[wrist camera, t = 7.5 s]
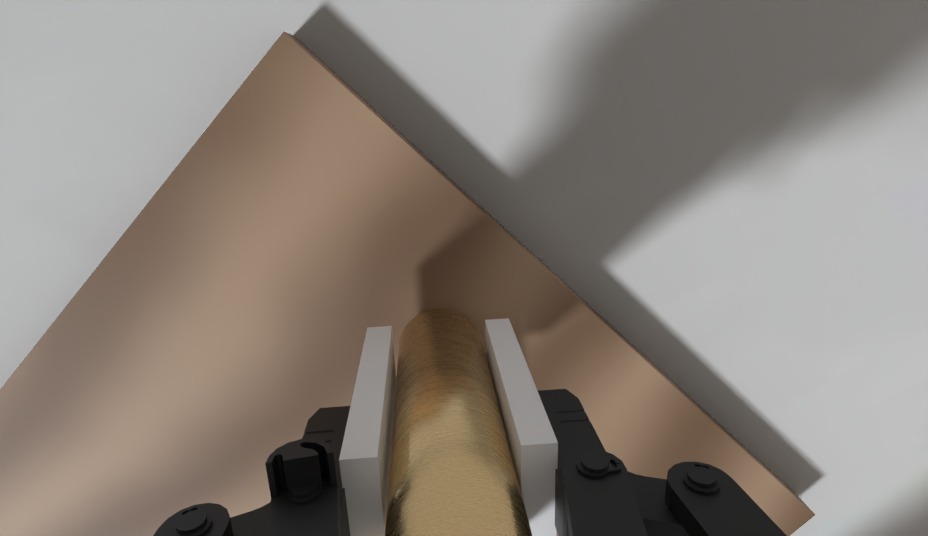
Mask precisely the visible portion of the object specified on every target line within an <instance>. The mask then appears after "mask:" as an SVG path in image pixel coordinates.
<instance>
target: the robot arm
mask: <svg viewBox="0 0 928 536" xmlns="http://www.w3.org/2000/svg"><path fill="white" fill-rule="evenodd" d="M485 342H486V358H487V361H488V365H489V369H490V373H491V377H492V381H493V385H494V389H495V393H496V396H497V400H498V404H499V408H500V412H501V416H502V420H503V424H504V428H505V431H506V435H507V439H508V443H509V447H510V451H511V455H512V459H513V463H514V466H515V470H516V474H517V478H518V482H519V486H520V490H521V494H522V498H523V501H524V505H525V509H526V513H527V517H528V521H529V525H530V529H531V533H532V536H556V531H557V534H558V536H787V535H786V534H785V533H784V532H783V531H782V530H781V529H780V528H779V527H778V526H777V525H776V524H775V523H774V522H773V521H772V520H771V518H770V517H769V516H768V515H767V514H766V513H765V512H764V511H763V510H762V509H761V508H760V507H759V506H758V505H757V504H756V503H755V502H754V501H753V500H752V499H751V497H750V496H749V495H748V494H747V493H746V492H745V491H744V490H743V489H742V488H741V487H740V486H739V485H738V484H737V483H736V482H735V481H734V480H733V479H732V478H731V477H730V476H729V475H728V474H726V473H725V472H724V471H722V470H721V469H719V468H716V467H714V466H712V465H710V464H705V463H701V462H681V463H678V464H675V465H673V466H672V467H671V468H670V469H669V470H668V473H667V479H661V478H654V477H646V476H642V475H637V474H634V473H631V472H628V471H627V468H626V467H625V465H624V463H623V462H622V460H620V459H619V458H617V457H616V456H615V455H613V454H611V453H608V452H606V451H605V449H604V447H603V445H602V443H601V441H600V439H599V437H598V435H597V433H596V431H595V429H594V427H593V425H592V424H591V422H590V421H589V418H588V416H587V414H586V412H584V408H583V406H582V404H581V402H580V400H579V398H577V397H576V396H575V395H573V394H572V393H571V392H569V391H568V390H567V389H554V390H540V391H537V388H536V386H535V383H534V381H533V378H532V376H531V373H530V371H529V368H528V366H527V363H526V361H525V358H524V356H523V353H522V350H521V348H520V345H519V343H518V340H517V338H516V335H515V333H514V330H513V328H512V325H511V323H510V320H509V318H505V319H489V320H485ZM395 391H396V370H395V358H394V345H393V333H392V326H382V327H367V331H366V336H365V341H364V345H363V350H362V355H361V359H360V364H359V369H358V373H357V378H356V383H355V387H354V392H353V397H352V401H351V406H341V407H327V408H320V409H319V410H318V411H317V412H316V413H315V414H314V415H313V416H312V417H311V418H310V419H309V420H308V422H307V425H306V428H305V431H304V435H303V437H302V439H300V440H296V441H292V442H288V443H286V444H285V445H283V446H281V447H279V448H277V449H276V450H275V451H274V452H273V453H271V454H270V455H269V457H268V459H267V461H266V463H265V465H266V471H267V477H268V483H269V489H270V495H271V502H270V503H268V504H266V505H264V506H262V507H260V508H258V509H255V510H253V511H250V512H247V513H243V514H240V515H237V516H234V517H230V516H229V513H228V510H227V509H226V508H225V507H223V506H222V505H220V504H214V503H203V504H196V505H193V506H190V507H188V508H185V509H182V510H180V511H178V512H177V513H175V514H174V515H172V516H171V517H169V518H168V519H167V520H166V521H165V522H164V523H163V524H162V525H161V526H160V527H159V528H158V529H157V531H156V532H155V534H154V535H153V536H385V527H386V514H387V500H388V486H389V473H390V459H391V445H392V432H393V418H394V404H395Z"/></svg>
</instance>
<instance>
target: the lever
mask: <svg viewBox="0 0 928 536" xmlns="http://www.w3.org/2000/svg"><path fill="white" fill-rule="evenodd" d="M385 536H532V533H531V529H530V525H529V521H528V517H527V513H526V509H525V505H524V501H523V498H522V494H521V490H520V486H519V482H518V478H517V474H516V470H515V466H514V463H513V459H512V455H511V451H510V447H509V443H508V439H507V435H506V431H505V428H504V424H503V420H502V416H501V412H500V408H499V404H498V400H497V396H496V393H495V389H494V385H493V381H492V377H491V373H490V369H489V365H488V361H487V358H486V354H485V350H484V346H483V342H482V338H481V334H480V332H479V330H478V328H477V326H476V325H475V323H474V322H473V321H472V320H471V319H470V318H469V317H467V316H466V315H464V314H463V313H461V312H458V311H456V310H452V309H447V308H436V309H431V310H427V311H424V312H422V313H420V314H418V315H417V316H415V317H414V318H413V319H412V320H411V321H409V323H408V324H407V325H406V326H405V328H404V329H403V332H402V334H401V337H400V340H399V350H398V363H397V377H396V391H395V404H394V418H393V432H392V445H391V459H390V473H389V486H388V500H387V514H386V527H385Z"/></svg>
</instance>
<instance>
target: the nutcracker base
mask: <svg viewBox="0 0 928 536" xmlns="http://www.w3.org/2000/svg"><path fill="white" fill-rule="evenodd" d="M436 308H447V309H452V310H456V311H458V312H461V313H463V314H464V315H466V316H467V317H469V318H470V319H471V320H472V321H473V322H474V323H475V325H476V326H477V328H478V330H479V332H480V334H481V338H482V342H483V346H484V350H485V354H486V342H485V320H489V319H505V318H509V320H510V323H511V325H512V328H513V330H514V333H515V335H516V338H517V340H518V343H519V345H520V348H521V350H522V353H523V356H524V358H525V361H526V363H527V366H528V368H529V371H530V373H531V376H532V378H533V381H534V383H535V386H536V388H537V391H540V390H554V389H567V390H568V391H569V392H571V393H572V394H573V395H575V396H576V397H577V398H579V400H580V402H581V404H582V406H583V408H584V412H586V414H587V416H588V418H589V421H590V422H591V424H592V425H593V427H594V429H595V431H596V433H597V435H598V437H599V439H600V441H601V443H602V445H603V447H604V449H605V451H606V452H608V453H611V454H613V455H615V456H616V457H617V458H619V459H620V460H622V462H623V463H624V465H625V467H626V468H627V471H628V472H631V473H634V474H637V475H642V476H646V477H654V478H661V479H667V473H668V470H669V469H670V468H671V467H672V466H673V465H675V464H678V463H681V462H701V463H705V464H710V465H712V466H714V467H716V468H719V469H721V470H722V471H724V472H725V473H726V474H728V475H729V476H730V477H731V478H732V479H733V480H734V481H735V482H736V483H737V484H738V485H739V486H740V487H741V488H742V489H743V490H744V491H745V492H746V493H747V494H748V495H749V496H750V497H751V499H752V500H753V501H754V502H755V503H756V504H757V505H758V506H759V507H760V508H761V509H762V510H763V511H764V512H765V513H766V514H767V515H768V516H769V517H770V518H771V520H772V521H773V522H774V523H775V524H776V525H777V526H778V527H779V528H780V529H781V530H782V531H783V532H784V533H785V534H786V535H787V536H790V535H791V534H792V533H793V532H795V531H796V530H797V529H798V528H800V527H801V526H802V525H803V524H805V523H806V522H807V521H808V520H809V519H811V518H812V517H813V516H814V515H815V514H814V513H813V512H812V511H811V510H810V509H809V508H808V507H807V505H806V504H805V503H804V502H803V501H802V500H801V499H800V498H799V497H798V496H797V495H796V494H795V493H794V492H793V491H792V490H791V489H790V488H789V487H787V486H786V485H785V484H784V483H783V482H782V481H781V480H780V479H779V478H778V477H776V476H775V475H774V474H773V473H772V472H771V471H770V470H769V469H768V468H767V467H766V466H764V465H763V464H762V463H761V462H760V461H759V460H758V459H757V458H756V457H755V456H753V455H752V454H751V453H750V452H749V451H748V450H747V449H746V448H745V447H744V446H742V445H741V444H740V443H739V442H738V441H737V440H736V439H735V438H734V437H733V436H732V435H730V434H729V433H728V432H727V431H726V430H725V429H724V428H723V427H722V426H721V425H719V424H718V423H717V422H716V421H715V420H714V419H713V418H712V417H711V416H710V415H708V414H707V413H706V412H705V411H704V410H703V409H702V408H701V407H700V406H699V405H698V404H696V403H695V402H694V401H693V400H692V399H691V398H690V397H689V396H688V395H687V394H685V393H684V392H683V391H682V390H681V389H680V388H679V387H678V386H677V385H676V384H674V383H673V382H672V381H671V380H670V379H669V378H668V377H667V376H666V375H665V374H663V373H662V372H661V371H660V370H659V369H658V368H657V367H656V366H655V365H654V364H653V363H651V362H650V361H649V360H648V359H647V358H646V357H645V356H644V355H643V354H642V353H640V352H639V351H638V350H637V349H636V348H635V347H634V346H633V345H632V344H631V343H629V342H628V341H627V340H626V339H625V338H624V337H623V336H622V335H621V334H620V333H619V332H617V331H616V330H615V329H614V328H613V327H612V326H611V325H610V324H609V323H608V322H606V321H605V320H604V319H603V318H602V317H601V316H600V315H599V314H598V313H597V312H595V311H594V310H593V309H592V308H591V307H590V306H589V305H588V304H587V303H586V302H585V301H583V300H582V299H581V298H580V297H579V296H578V295H577V294H576V293H575V292H574V291H572V290H571V289H570V288H569V287H568V286H567V285H566V284H565V283H564V282H563V281H561V280H560V279H559V278H558V277H557V276H556V275H555V274H554V273H553V272H552V271H551V270H549V269H548V268H547V267H546V266H545V265H544V264H543V263H542V262H541V261H540V260H538V259H537V258H536V257H535V256H534V255H533V254H532V253H531V252H530V251H529V250H527V249H526V248H525V247H524V246H523V245H522V244H521V243H520V242H519V241H518V240H517V239H515V238H514V237H513V236H512V235H511V234H510V233H509V232H508V231H507V230H506V229H504V228H503V227H502V226H501V225H500V224H499V223H498V222H497V221H496V220H495V219H493V218H492V217H491V216H490V215H489V214H488V213H487V212H486V211H485V210H484V209H483V208H481V207H480V206H479V205H478V204H477V203H476V202H475V201H474V200H473V199H472V198H470V197H469V196H468V195H467V194H466V193H465V192H464V191H463V190H462V189H461V188H459V187H458V186H457V185H456V184H455V183H454V182H453V181H452V180H451V179H450V178H449V177H447V176H446V175H445V174H444V173H443V172H442V171H441V170H440V169H439V168H438V167H436V166H435V165H434V164H433V163H432V162H431V161H430V160H429V159H428V158H427V157H425V156H424V155H423V154H422V153H421V152H420V151H419V150H418V149H417V148H416V147H415V146H413V145H412V144H411V143H410V142H409V141H408V140H407V139H406V138H405V137H404V136H402V135H401V134H400V133H399V132H398V131H397V130H396V129H395V128H394V127H393V126H391V125H390V124H389V123H388V122H387V121H386V120H385V119H384V118H383V117H382V116H381V115H379V114H378V113H377V112H376V111H375V110H374V109H373V108H372V107H371V106H370V105H368V104H367V103H366V102H365V101H364V100H363V99H362V98H361V97H360V96H359V95H357V94H356V93H355V92H354V91H353V90H352V89H351V88H350V87H349V86H348V85H347V84H345V83H344V82H343V81H342V80H341V79H340V78H339V77H338V76H337V75H336V74H334V73H333V72H332V71H331V70H330V69H329V68H328V67H327V66H326V65H325V64H323V63H322V62H321V61H320V60H319V59H318V58H317V57H316V56H315V55H314V54H313V53H311V52H310V51H309V50H308V49H307V48H306V47H305V46H304V45H303V44H302V43H300V42H299V41H298V40H297V39H296V38H295V37H294V36H293V35H291V34H288V33H286V32H283V33H282V35H281V36H280V37H279V38H278V40H277V41H276V42H275V43H274V45H273V46H272V47H271V49H270V50H269V51H268V52H267V54H266V55H265V56H264V57H263V59H262V60H261V61H260V62H259V64H258V65H257V66H256V67H255V69H254V70H253V71H252V72H251V74H250V75H249V76H248V78H247V79H246V80H245V81H244V83H243V84H242V85H241V86H240V88H239V89H238V90H237V91H236V93H235V94H234V95H233V96H232V98H231V99H230V100H229V102H228V103H227V104H226V105H225V107H224V108H223V109H222V110H221V112H220V113H219V114H218V115H217V117H216V118H215V119H214V120H213V122H212V123H211V124H210V126H209V127H208V128H207V129H206V131H205V132H204V133H203V134H202V136H201V137H200V138H199V139H198V141H197V142H196V143H195V144H194V146H193V147H192V148H191V149H190V151H189V152H188V153H187V155H186V156H185V157H184V158H183V160H182V161H181V162H180V163H179V165H178V166H177V167H176V168H175V170H174V171H173V172H172V173H171V175H170V176H169V177H168V179H167V180H166V181H165V182H164V184H163V185H162V186H161V187H160V189H159V190H158V191H157V192H156V194H155V195H154V196H153V197H152V199H151V200H150V201H149V202H148V204H147V205H146V206H145V208H144V209H143V210H142V211H141V213H140V214H139V215H138V216H137V218H136V219H135V220H134V221H133V223H132V224H131V225H130V226H129V228H128V229H127V230H126V232H125V233H124V234H123V235H122V237H121V238H120V239H119V240H118V242H117V243H116V244H115V245H114V247H113V248H112V249H111V250H110V252H109V253H108V254H107V256H106V257H105V258H104V259H103V261H102V262H101V263H100V264H99V266H98V267H97V268H96V269H95V271H94V272H93V273H92V274H91V276H90V277H89V278H88V279H87V281H86V282H85V283H84V285H83V286H82V287H81V288H80V290H79V291H78V292H77V293H76V295H75V296H74V297H73V298H72V300H71V301H70V302H69V303H68V305H67V306H66V307H65V309H64V310H63V311H62V312H61V314H60V315H59V316H58V317H57V319H56V320H55V321H54V322H53V324H52V325H51V326H50V327H49V329H48V330H47V331H46V333H45V334H44V335H43V336H42V338H41V339H40V340H39V341H38V343H37V344H36V345H35V346H34V348H33V349H32V350H31V351H30V353H29V354H28V355H27V356H26V358H25V359H24V360H23V362H22V363H21V364H20V365H19V367H18V368H17V369H16V370H15V372H14V373H13V374H12V375H11V377H10V378H9V379H8V380H7V382H6V383H5V384H4V386H3V387H2V388H1V389H0V536H153V535H154V534H155V532H156V531H157V529H158V528H159V527H160V526H161V525H162V524H163V523H164V522H165V521H166V520H167V519H168V518H169V517H171V516H172V515H174V514H175V513H177V512H178V511H180V510H182V509H185V508H188V507H190V506H193V505H196V504H203V503H214V504H220V505H222V506H223V507H225V508H226V509H227V510H228V513H229V516H230V517H234V516H237V515H240V514H243V513H247V512H250V511H253V510H255V509H258V508H260V507H262V506H264V505H266V504H268V503H270V502H271V495H270V489H269V483H268V477H267V471H266V465H265V463H266V461H267V459H268V457H269V455H270V454H271V453H273V452H274V451H275V450H276V449H277V448H279V447H281V446H283V445H285V444H286V443H288V442H292V441H296V440H300V439H302V437H303V435H304V431H305V428H306V425H307V422H308V420H309V419H310V418H311V417H312V416H313V415H314V414H315V413H316V412H317V411H318V410H319V409H320V408H327V407H341V406H351V401H352V397H353V392H354V387H355V383H356V378H357V373H358V369H359V364H360V359H361V355H362V350H363V345H364V341H365V336H366V331H367V327H382V326H392V333H393V345H394V358H395V370H396V377H397V363H398V350H399V340H400V337H401V334H402V332H403V329H404V328H405V326H406V325H407V324H408V323H409V321H411V320H412V319H413V318H414V317H415V316H417V315H418V314H420V313H422V312H424V311H427V310H431V309H436ZM556 536H558V534H557V531H556Z"/></svg>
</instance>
